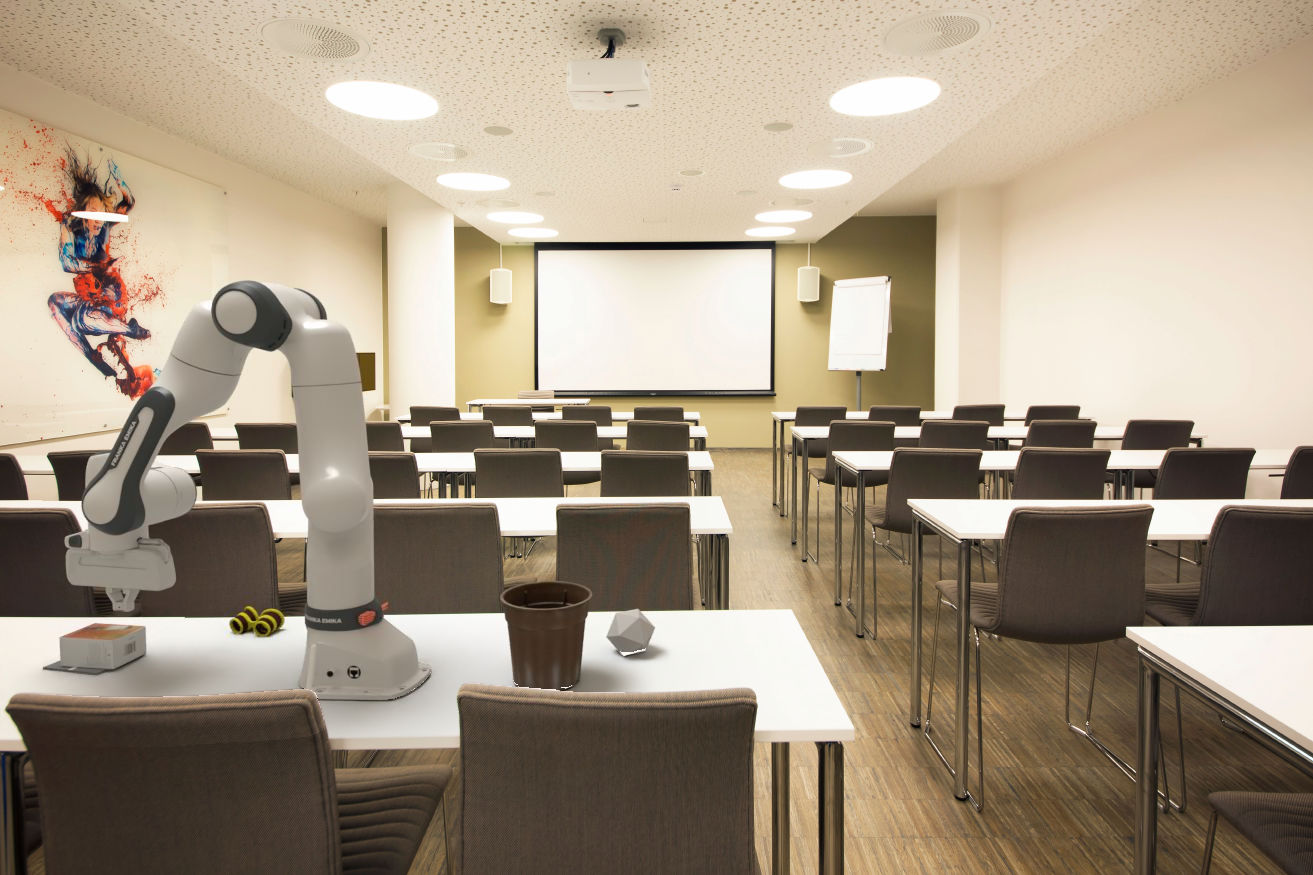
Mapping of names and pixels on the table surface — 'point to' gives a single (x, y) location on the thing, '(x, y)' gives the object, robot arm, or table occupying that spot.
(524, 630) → the plant pot
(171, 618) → the table surface
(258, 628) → the opera glasses
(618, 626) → the die
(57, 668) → the mat
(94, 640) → the small box
